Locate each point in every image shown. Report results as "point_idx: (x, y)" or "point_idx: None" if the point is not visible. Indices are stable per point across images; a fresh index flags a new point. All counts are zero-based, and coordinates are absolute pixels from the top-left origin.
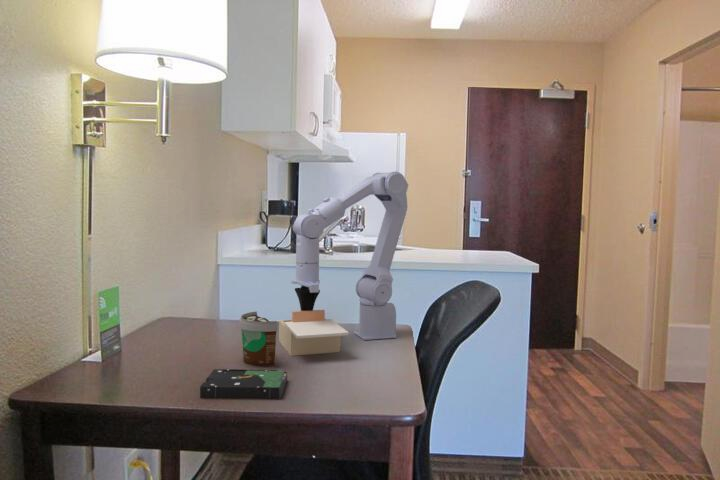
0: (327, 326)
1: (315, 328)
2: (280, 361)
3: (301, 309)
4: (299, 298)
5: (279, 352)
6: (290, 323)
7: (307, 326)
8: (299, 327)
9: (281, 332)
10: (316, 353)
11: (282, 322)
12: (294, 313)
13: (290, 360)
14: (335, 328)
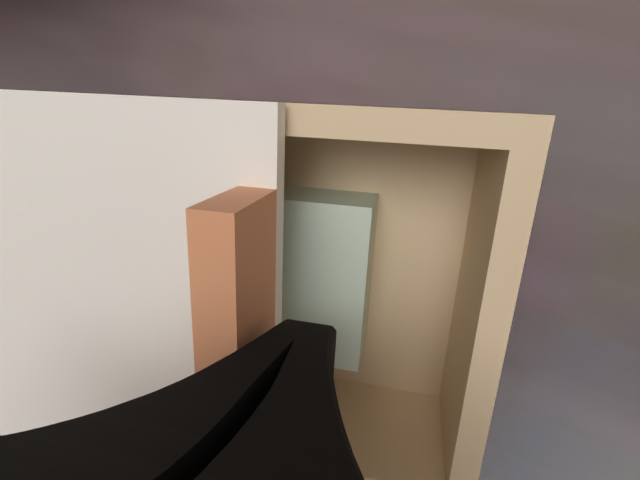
0: (63, 379)
1: (16, 283)
2: (53, 8)
3: (279, 346)
4: (243, 431)
5: (218, 44)
6: (197, 147)
7: (77, 252)
8: (50, 179)
9: (410, 108)
10: None
11: (424, 123)
12: (193, 221)
13: (64, 70)
14: (10, 397)
